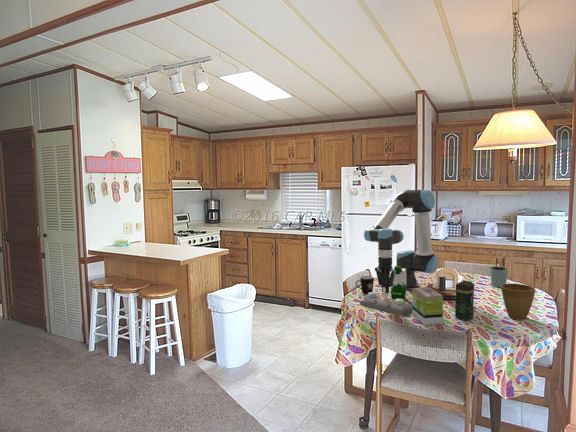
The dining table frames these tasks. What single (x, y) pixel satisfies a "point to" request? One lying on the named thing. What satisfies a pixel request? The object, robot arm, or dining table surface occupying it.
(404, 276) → the milk carton
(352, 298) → the dining table surface
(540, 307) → the dining table surface
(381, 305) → the button board
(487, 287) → the dining table surface
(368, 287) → the coffee mug
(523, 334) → the dining table surface
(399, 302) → the sage button
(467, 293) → the coffee jar
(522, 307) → the plant pot
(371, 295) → the slate button
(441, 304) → the tea box
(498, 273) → the blue-grey cylindrical pot
